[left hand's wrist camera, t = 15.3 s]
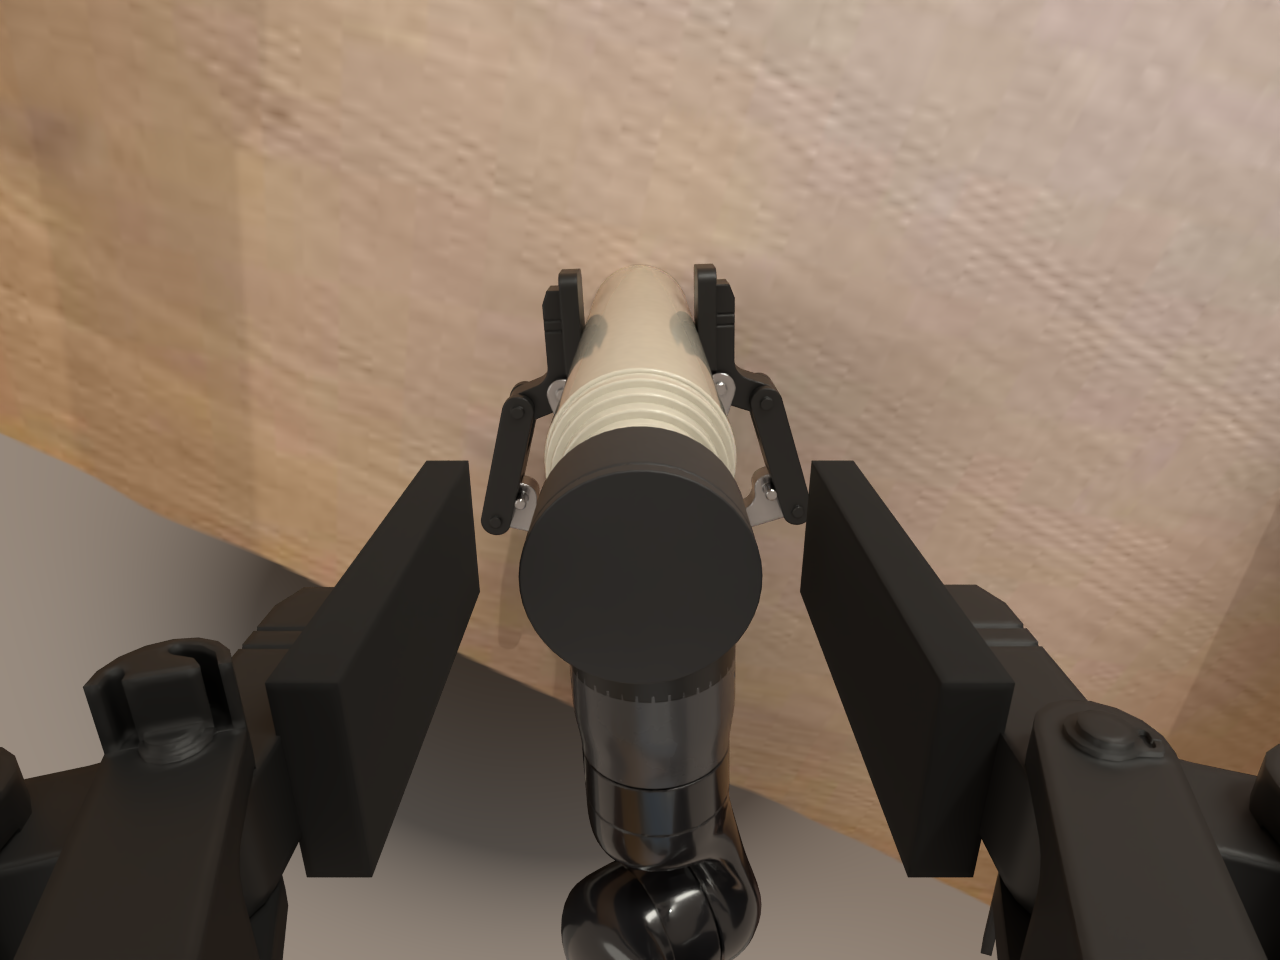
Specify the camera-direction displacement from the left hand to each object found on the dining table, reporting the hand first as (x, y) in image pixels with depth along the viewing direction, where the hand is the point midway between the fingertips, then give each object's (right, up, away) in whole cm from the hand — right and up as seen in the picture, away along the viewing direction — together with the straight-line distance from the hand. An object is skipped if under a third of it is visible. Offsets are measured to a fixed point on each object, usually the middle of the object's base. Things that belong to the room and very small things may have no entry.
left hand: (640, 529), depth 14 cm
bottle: (0, +9, +21) cm, 23 cm away
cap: (0, -1, -2) cm, 2 cm away
